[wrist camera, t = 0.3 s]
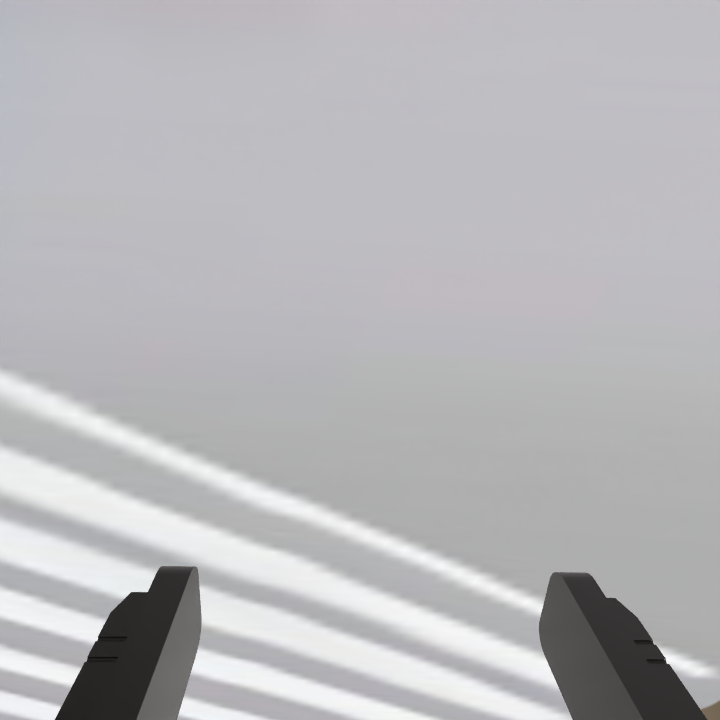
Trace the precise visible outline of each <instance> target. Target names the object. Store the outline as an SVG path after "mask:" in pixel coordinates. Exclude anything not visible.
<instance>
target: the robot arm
mask: <svg viewBox="0 0 720 720" xmlns="http://www.w3.org/2000/svg"><path fill="white" fill-rule="evenodd" d="M200 633H201V605H200V591H199V577H198V569H197V567H182V566H162V567H160V568H159V570H158V571H157V573H156V576H155V578H154V580H153V582H152V584H151V587H150V589H149V591H148V592H131V593H130V594H129V595H128V596H127V597H126V598H125V599H124V600H123V601H122V602H121V603H120V604H119V605H118V606H117V607H116V608H115V609H114V610H113V611H112V612H111V613H110V615H109V617H108V619H107V621H106V623H105V624H104V626H103V628H102V630H101V632H100V634H99V636H98V641H96V642H95V644H94V646H93V648H92V649H91V651H90V653H89V655H88V659H87V662H85V663H84V665H83V667H82V669H81V671H80V672H79V674H78V676H77V678H76V680H75V682H74V684H73V686H72V688H71V690H70V692H69V694H68V695H67V697H66V699H65V701H64V703H63V705H62V707H61V709H60V711H59V713H58V715H57V717H56V719H55V720H177V717H178V714H179V710H180V707H181V704H182V700H183V697H184V693H185V690H186V687H187V683H188V680H189V676H190V673H191V670H192V666H193V663H194V660H195V656H196V653H197V649H198V645H199V640H200ZM539 635H540V641H541V646H542V649H543V652H544V655H545V657H546V659H547V661H548V664H549V666H550V668H551V671H552V673H553V675H554V677H555V680H556V682H557V684H558V687H559V689H560V691H561V693H562V696H563V698H564V700H565V703H566V705H567V707H568V709H569V712H570V714H571V716H572V719H573V720H707V719H706V717H705V716H704V714H703V713H702V711H701V710H700V708H699V707H698V705H697V704H696V703H695V701H694V700H693V698H692V697H691V695H690V694H689V692H688V691H687V689H686V688H685V686H684V685H683V684H682V682H681V681H680V679H679V678H678V676H677V675H676V673H675V672H674V670H673V669H672V668H671V666H670V665H669V664H667V663H666V659H665V657H664V656H663V654H662V653H661V651H660V650H659V649H658V647H657V646H656V645H654V644H653V640H652V638H651V637H650V635H649V634H648V632H647V631H646V630H645V628H644V627H643V625H642V624H641V622H640V621H639V619H638V618H637V617H636V616H635V615H634V614H633V613H632V612H630V611H629V610H628V609H627V608H626V607H625V606H624V605H622V604H621V603H620V602H619V601H618V600H617V599H616V598H606V597H605V595H604V594H603V592H602V591H601V589H600V587H599V586H598V584H597V583H596V581H595V580H594V578H593V577H592V576H591V575H590V574H588V573H565V572H555V573H553V574H552V575H551V577H550V581H549V585H548V589H547V593H546V597H545V601H544V605H543V609H542V613H541V618H540V622H539Z"/></svg>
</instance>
